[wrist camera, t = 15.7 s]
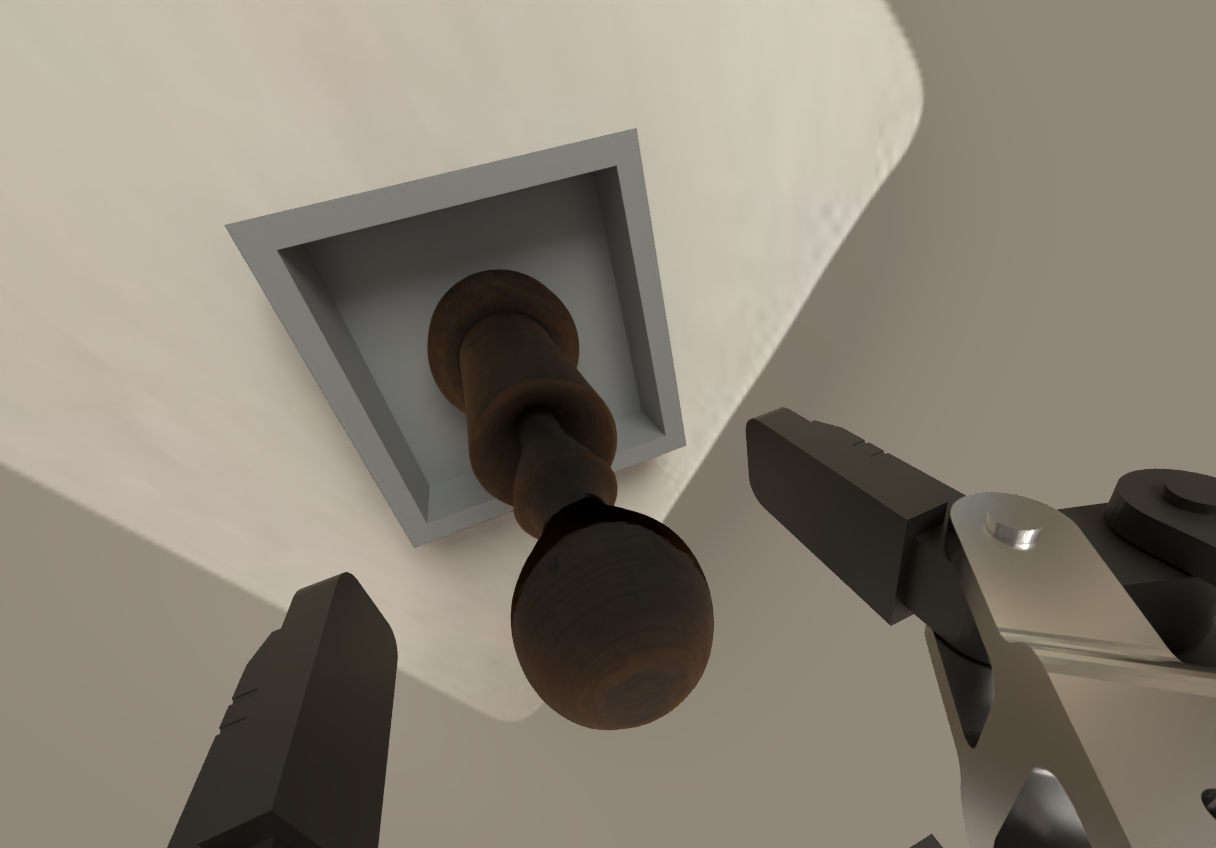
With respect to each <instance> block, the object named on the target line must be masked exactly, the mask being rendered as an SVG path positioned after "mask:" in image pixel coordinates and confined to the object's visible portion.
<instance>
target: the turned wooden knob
mask: <svg viewBox="0 0 1216 848" xmlns="http://www.w3.org/2000/svg"><path fill="white" fill-rule="evenodd" d="M427 351H428V361H429V366H430V370H431V373H432V375H433V378H434V380H435V382H436V384H437V386H438V388H439V389H440V391H441V392H442V394H443V395H444V396H445V397H446V398H447V400H448V401H449V402H450V403H451V404H452V405H454V406H455V407H456V408H457V409H459V410H460V411H462V412H463V413H465V414H466V420H467V435H468V449H469V458H470V463H471V467H472V470H473V472H474V474H475V476H476V478H477V480H478V481H479V483H480V484H481V486H482V487H483V488H484V489H485V490H486V491H487V492H488V493H489V494H490V495H492V496H493V497H494V498H496V499H498V500H499V501H501V502H503V503H505V504H508V505H510V506H513V511H514V515H515V518H516V520H517V522H518V524H519V525H520V526H521V528H522V529H523V530H524V531H525V532H527V533H528V534H529V535H531V536H533V537H534V538H536V539H538V541H537V543H536V545H535V547H534V548H533V550H532V552H531V554H530V555H529V557H528V559H527V560H526V562H525V564H524V566H523V568H522V570H521V573H520V575H519V578H518V581H517V584H516V587H515V590H514V594H513V598H512V606H511V630H512V638H513V643H514V647H515V651H516V654H517V657H518V660H519V662H520V665H521V667H522V670H523V672H524V674H525V676H526V678H527V679H528V681H529V683H530V684H531V686H532V687H533V688H534V690H535V691H536V692H537V694H538V695H539V696H540V697H541V699H542V700H543V701H544V702H545V703H546V704H548V705H549V706H550V707H551V708H552V709H553V710H554V711H556V712H557V713H559V714H560V715H561V716H563V717H565V718H566V719H568V720H570V721H572V722H574V723H576V724H578V725H581V726H585V727H588V728H591V729H598V730H618V729H627V728H633V727H638V726H641V725H645V724H648V723H650V722H653V721H655V720H657V719H659V718H661V717H663V716H664V715H666V714H668V713H669V712H670V711H672V710H673V709H674V708H675V707H677V706H678V705H679V704H680V703H681V702H682V701H683V700H684V699H685V698H686V697H687V696H688V695H689V694H690V692H691V691H692V690H693V689H694V688H695V686H696V685H697V683H698V682H699V680H700V678H701V677H702V675H703V672H704V670H705V668H706V666H707V663H708V660H709V657H710V652H711V647H712V641H713V632H714V616H713V605H712V600H711V595H710V591H709V587H708V584H707V581H706V578H705V576H704V573H703V571H702V569H701V567H700V565H699V563H698V561H697V559H696V558H695V556H694V555H693V553H692V552H691V550H690V549H689V548H688V546H687V545H686V544H685V543H684V541H683V540H682V539H681V538H680V537H679V536H678V535H677V534H676V533H675V532H673V531H672V530H671V529H670V528H668V527H667V526H665V525H664V524H662V523H660V522H659V521H657V520H655V519H653V518H651V517H649V516H646V515H644V514H641V513H638V512H635V511H631V510H627V509H624V508H620V507H616V506H614V504H615V501H616V497H617V481H616V477H615V475H614V472H613V470H612V469H611V465H612V463H613V461H614V458H615V454H616V449H617V430H616V424H615V421H614V418H613V416H612V413H611V411H610V410H609V408H608V406H607V405H606V403H605V402H604V401H603V399H602V398H601V397H600V396H599V395H598V393H597V392H596V391H595V390H594V389H593V388H592V386H591V385H590V384H589V383H588V382H587V381H586V379H585V378H584V377H583V376H582V375H581V373H580V372H579V371H578V370H577V365H578V360H579V338H578V333H577V329H576V326H575V323H574V320H573V318H572V316H571V314H570V312H569V311H568V309H567V308H566V306H565V305H564V304H563V302H562V301H561V300H560V299H559V298H558V297H557V296H556V295H555V294H554V293H553V292H552V291H551V290H549V289H548V288H547V287H546V286H545V285H543V284H542V283H541V282H539V281H538V280H536V279H534V278H532V277H530V276H528V275H526V274H523V273H520V272H517V271H512V270H502V269H496V270H487V271H482V272H478V273H475V274H472V275H470V276H468V277H466V278H464V279H462V280H461V281H459V282H457V283H456V284H455V285H453V286H452V287H451V288H450V289H449V290H448V291H447V292H446V293H445V294H444V295H443V297H442V298H441V299H440V301H439V303H438V304H437V306H436V308H435V310H434V312H433V315H432V318H431V321H430V326H429V332H428V343H427Z"/></svg>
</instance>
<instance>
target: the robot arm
mask: <svg viewBox="0 0 1216 848" xmlns="http://www.w3.org/2000/svg"><path fill="white" fill-rule="evenodd" d="M746 441H747V455H748V468H749V481H750V485H751V488H752V490H753V493H754V494H755V496H756V498H757V500H758V501H759V502H760V504H761V505H762V506H763V507H764V508H765V509H766V510H767V511H768V512H769V513H770V514H771V515H772V516H774V517H775V518H776V519H777V520H778V521H779V522H780V523H781V524H782V525H783V526H784V527H785V528H786V529H788V530H789V531H790V532H791V533H792V534H793V535H794V536H795V537H796V538H797V539H798V540H799V541H800V542H801V543H803V544H804V545H805V546H806V547H807V548H808V549H809V550H810V551H811V552H812V553H813V554H814V555H815V556H816V557H818V558H819V559H820V560H821V561H822V562H823V563H824V564H825V565H826V566H827V567H828V568H829V569H830V570H832V571H833V572H834V573H835V574H836V575H837V576H838V577H839V578H840V579H841V580H842V581H843V582H845V584H846V585H848V586H849V587H850V588H851V589H852V590H853V591H854V592H855V593H856V594H857V595H858V596H859V597H860V598H862V599H863V600H864V601H865V602H866V603H867V604H868V605H869V606H870V607H871V608H872V609H873V610H874V611H875V612H877V613H878V614H879V615H880V616H881V617H882V618H883V619H884V620H885V621H886V622H887V623H888V624H889V625H893V624H895V623H897V622H899V621H901V620H903V619H905V618H907V617H909V616H911V615H913V614H915V615H916V616H917V617H918V618H920V619H921V620H922V621H923V622H924V623H925V624H926V626H925V638H926V642H927V646H928V649H929V654H930V657H931V660H932V664H933V668H934V671H935V675H936V679H937V682H938V686H939V689H940V693H941V696H942V700H943V704H944V707H945V711H946V714H947V718H948V722H949V725H950V729H951V732H952V736H953V739H954V743H955V747H956V750H957V755H958V759H959V765H960V776H961V803H962V811H963V817H964V823H965V828H966V832H967V837H968V841H969V845H970V848H1216V478H1215V477H1212V476H1208V475H1203V474H1199V473H1194V472H1188V471H1181V470H1172V469H1171V470H1170V469H1144V470H1137V471H1133V472H1130V473H1127V474H1125V475H1124V476H1122V477H1121V478H1120V479H1119V480H1118V483H1117V485H1116V487H1115V489H1114V492H1113V494H1112V496H1111V498H1110V501H1109V503H1103V504H1095V505H1088V506H1080V507H1073V508H1065V509H1058V510H1056V509H1054V508H1053V507H1050V506H1049V505H1046V504H1044V503H1042V502H1039V501H1036V500H1033V499H1030V498H1027V497H1023V496H1019V495H1014V494H1009V493H999V492H982V493H975V494H970V495H967V496H966V495H964V494H962V493H960V492H958V491H956V490H955V489H953V488H951V487H949V486H947V485H945V484H944V483H942V482H940V481H938V480H936V479H935V478H933V477H931V476H929V475H927V474H925V473H924V472H922V471H920V470H918V469H916V468H915V467H912V466H911V465H909V464H907V463H905V462H903V461H902V460H900V459H898V458H896V457H894V456H893V455H891V454H889V453H887V454H885V453H884V452H883V450H881V449H880V448H878V447H876V446H874V445H873V444H871V443H865V441H864V440H863V439H862V438H860V437H858V436H856V435H854V434H853V433H851V432H849V431H847V430H845V429H843V428H841V427H837V426H834V425H830V424H826V423H822V422H818V421H812V422H810V421H808V420H806V419H805V418H803V417H802V416H800V415H798V414H797V413H795V412H793V411H791V410H790V409H787V408H784V407H783V408H779V409H776V410H773V411H771V412H768V413H765V414H763V415H760V416H758V417H755V418H752V419H750V420H749V421H748V422H747V425H746ZM397 660H398V653H397V645H396V640H395V637H394V634H393V631H392V629H391V627H390V625H389V624H388V622H387V621H386V619H385V618H384V617H383V615H382V614H381V612H380V611H379V610H378V608H377V607H376V605H375V604H374V603H373V601H372V600H371V598H370V597H369V596H368V594H367V593H366V591H365V590H364V589H363V587H362V586H361V584H360V583H359V581H358V580H357V579H356V578H355V577H354V576H353V575H352V574H351V573H348V572H344V573H342V574H339V575H336V576H334V577H331V578H329V579H326V580H323V581H321V582H318V583H315V584H313V585H310V586H308V587H305V588H302V589H300V590H298V591H297V592H296V594H295V595H294V597H293V599H292V602H291V605H290V607H289V610H288V612H287V615H286V617H285V620H284V623H283V625H282V628H281V629H279V630H276V631H274V632H272V633H271V634H270V635H269V637H268V638H267V639H266V641H265V642H264V643H263V645H262V646H261V647H260V648H259V650H258V651H257V652H256V653H255V655H254V656H253V658H252V659H251V660H250V661H249V663H248V664H247V665H246V668H245V670H244V672H243V674H242V677H241V679H240V681H239V684H238V686H237V688H236V690H235V693H234V695H233V697H232V700H233V704H232V705H230V706H228V709H227V711H226V713H225V716H224V718H223V720H222V723H221V725H220V727H219V728H220V734H219V735H217V736H216V737H215V739H214V741H213V743H212V746H211V748H210V750H209V753H208V755H207V757H206V759H205V762H204V764H203V766H202V769H201V771H200V773H199V775H198V778H197V780H196V782H195V785H194V787H193V789H192V792H191V794H190V796H189V798H188V801H187V803H186V805H185V808H184V810H183V812H182V815H181V817H180V819H179V821H178V824H177V826H176V828H175V831H174V833H173V835H172V838H171V840H170V842H169V845H168V847H167V848H378V843H379V833H380V823H381V814H382V805H383V795H384V785H385V776H386V766H387V757H388V747H389V737H390V728H391V718H392V709H393V699H394V689H395V679H396V670H397ZM910 848H943V847H942V846H941V845H940V844H939V842H938V841H937V840H936V838H935V837H934V836H933V835H932V834H931V835H929V836H928V837H926V838H925V839H923V840H921V841H920V842H918V843H917V844H915V845H913V846H912V847H910Z"/></svg>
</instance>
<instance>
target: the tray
mask: <svg viewBox="0 0 1216 848" xmlns="http://www.w3.org/2000/svg"><path fill="white" fill-rule="evenodd" d="M225 227H226V229H227V230H228V232H229V234H230V236H231V237H232V239H233V241H234V242H235V244H236V246H237V247H238V249H239V251H240V253H241V254H242V256H243V258H244V259H245V261H246V263H247V264H248V266H249V268H250V270H251V271H252V273H253V275H254V276H255V278H256V280H257V281H258V283H259V285H260V287H261V288H262V290H263V292H264V293H265V295H266V297H267V298H268V300H269V302H270V304H271V305H272V307H273V309H274V310H275V312H276V314H277V315H278V317H279V319H280V321H281V322H282V324H283V326H284V327H285V329H286V331H287V332H288V334H289V336H290V338H291V339H292V341H293V343H294V344H295V346H296V348H297V349H298V351H299V353H300V355H301V356H302V358H303V360H304V361H305V363H306V365H307V366H308V368H309V370H310V372H311V373H312V375H313V377H314V378H315V380H316V382H317V383H318V385H319V387H320V389H321V390H322V392H323V394H324V395H325V397H326V399H327V400H328V402H329V404H330V406H331V407H332V409H333V411H334V412H335V414H336V416H337V417H338V419H339V421H340V423H341V424H342V426H343V428H344V429H345V431H346V433H347V434H348V436H349V438H350V440H351V441H352V443H353V445H354V446H355V448H356V450H357V451H358V453H359V455H360V457H361V458H362V460H363V462H364V463H365V465H366V467H367V468H368V470H369V472H370V474H371V475H372V477H373V479H374V480H375V482H376V484H377V486H378V487H379V489H380V491H381V492H382V494H383V496H384V497H385V499H386V501H387V503H388V504H389V506H390V508H391V509H392V511H393V513H394V514H395V516H396V518H397V520H398V521H399V523H400V525H401V526H402V528H403V530H404V531H405V533H406V535H407V537H408V538H409V540H410V542H411V543H412V545H413V547H414V548H416V547H419V546H421V545H424V544H427V543H429V542H432V541H434V540H437V539H440V538H442V537H445V536H448V535H450V534H453V533H456V532H458V531H461V530H464V529H466V528H469V527H472V526H474V525H477V524H479V523H482V522H485V521H487V520H490V519H493V518H495V517H498V516H501V515H503V514H506V513H509V512H511V511H513V506H510V505H508V504H505V503H503V502H501V501H499V500H498V499H496V498H494V497H493V496H492V495H490V494H489V493H488V492H487V491H486V490H485V489H484V488H483V487H482V486H481V484H480V483H479V481H478V480H477V478H476V476H475V474H474V472H473V470H472V467H471V463H470V458H469V449H468V435H467V420H466V414H465V413H463V412H462V411H460V410H459V409H457V408H456V407H455V406H454V405H452V404H451V403H450V402H449V401H448V400H447V398H446V397H445V396H444V395H443V394H442V392H441V391H440V389H439V388H438V386H437V384H436V382H435V380H434V378H433V375H432V373H431V370H430V366H429V361H428V351H427V343H428V332H429V326H430V321H431V318H432V315H433V312H434V310H435V308H436V306H437V304H438V303H439V301H440V299H441V298H442V297H443V295H444V294H445V293H446V292H447V291H448V290H449V289H450V288H451V287H452V286H453V285H455V284H456V283H457V282H459V281H461V280H462V279H464V278H466V277H468V276H470V275H472V274H475V273H478V272H482V271H487V270H496V269H502V270H512V271H517V272H520V273H523V274H526V275H528V276H530V277H532V278H534V279H536V280H538V281H539V282H541V283H542V284H543V285H545V286H546V287H547V288H548V289H549V290H551V291H552V292H553V293H554V294H555V295H556V296H557V297H558V298H559V299H560V300H561V301H562V302H563V304H564V305H565V306H566V308H567V309H568V311H569V312H570V314H571V316H572V318H573V320H574V323H575V326H576V329H577V333H578V338H579V360H578V365H577V370H578V371H579V372H580V373H581V375H582V376H583V377H584V378H585V379H586V381H587V382H588V383H589V384H590V385H591V386H592V388H593V389H594V390H595V391H596V392H597V393H598V395H599V396H600V397H601V398H602V399H603V401H604V402H605V403H606V405H607V406H608V408H609V410H610V411H611V413H612V416H613V418H614V421H615V424H616V430H617V449H616V454H615V458H614V461H613V463H612V465H611V469H612V470H613V472H614V473H615V472H617V471H620V470H622V469H625V468H628V467H630V466H633V465H636V464H638V463H641V462H644V461H646V460H649V459H652V458H654V457H657V456H660V455H662V454H665V453H667V452H670V451H673V450H675V449H678V448H681V447H683V446H686V440H685V434H684V427H683V421H682V415H681V408H680V402H679V396H678V389H677V383H676V377H675V370H674V364H673V358H672V351H671V345H670V338H669V332H668V326H667V319H666V313H665V307H664V300H663V294H662V288H661V281H660V275H659V269H658V262H657V256H656V250H655V243H654V237H653V231H652V224H651V218H650V211H649V205H648V199H647V192H646V186H645V180H644V173H643V167H642V161H641V154H640V148H639V142H638V135H637V129H636V128H635V129H631V130H627V131H622V132H618V133H614V134H610V135H605V136H601V137H597V138H593V139H588V140H584V141H580V142H576V143H571V144H567V145H563V146H559V147H554V148H550V149H546V150H542V151H537V152H533V153H529V154H525V155H520V156H516V157H512V158H508V159H503V160H499V161H495V162H491V163H486V164H482V165H478V166H474V167H469V168H465V169H461V170H457V171H453V172H448V173H444V174H440V175H436V176H431V177H427V178H423V179H419V180H414V181H410V182H406V183H402V184H397V185H393V186H389V187H385V188H380V189H376V190H372V191H368V192H363V193H359V194H355V195H351V196H346V197H342V198H338V199H334V200H329V201H325V202H321V203H317V204H312V205H308V206H304V207H300V208H295V209H291V210H287V211H283V212H278V213H274V214H270V215H266V216H261V217H257V218H253V219H249V220H244V221H240V222H236V223H232V224H227V225H225Z"/></svg>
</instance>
